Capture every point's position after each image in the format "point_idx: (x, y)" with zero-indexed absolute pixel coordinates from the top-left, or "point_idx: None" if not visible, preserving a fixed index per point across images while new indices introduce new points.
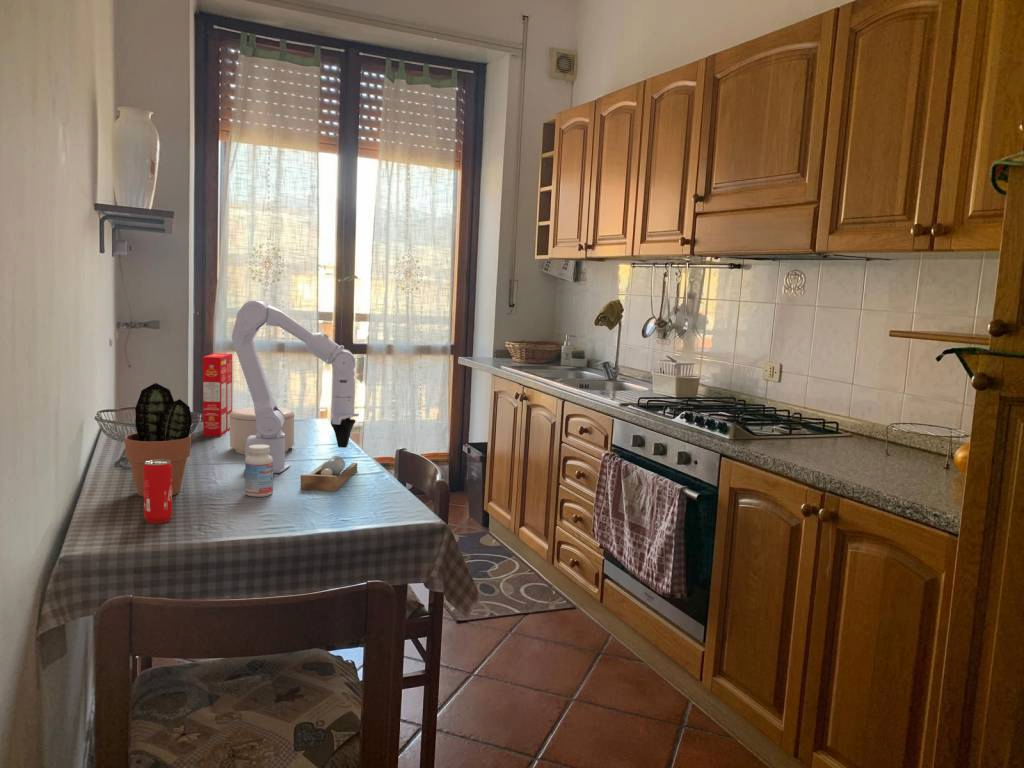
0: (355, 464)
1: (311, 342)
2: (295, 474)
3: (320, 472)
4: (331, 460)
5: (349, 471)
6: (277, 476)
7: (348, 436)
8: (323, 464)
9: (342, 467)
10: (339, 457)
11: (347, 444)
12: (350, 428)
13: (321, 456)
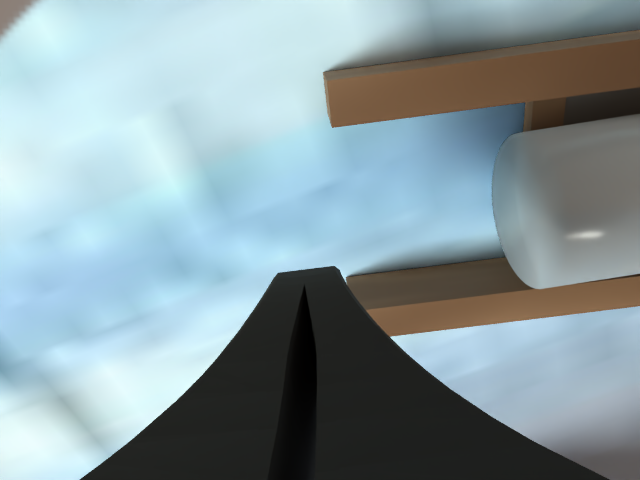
0: (399, 71)
1: None
2: (513, 396)
3: None
4: None
5: (633, 38)
6: (571, 445)
7: (321, 334)
8: (461, 317)
9: (633, 118)
10: (591, 205)
11: (292, 279)
12: (338, 434)
13: (11, 452)
